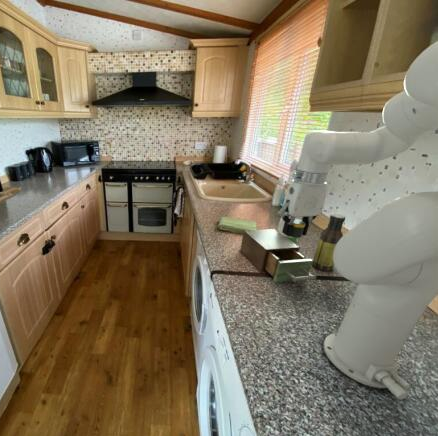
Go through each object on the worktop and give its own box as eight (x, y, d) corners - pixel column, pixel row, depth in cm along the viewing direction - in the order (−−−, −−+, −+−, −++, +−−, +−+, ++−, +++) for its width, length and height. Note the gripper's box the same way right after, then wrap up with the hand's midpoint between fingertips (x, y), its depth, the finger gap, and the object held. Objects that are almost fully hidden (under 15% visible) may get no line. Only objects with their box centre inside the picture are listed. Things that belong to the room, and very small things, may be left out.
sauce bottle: (336, 270, 86) (356, 219, 78) (322, 272, 85) (341, 220, 77) (320, 260, 92) (337, 211, 84) (307, 262, 90) (323, 213, 83)
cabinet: (293, 269, 86) (299, 247, 83) (260, 272, 85) (266, 249, 81) (268, 248, 100) (273, 228, 96) (240, 250, 98) (243, 230, 94)
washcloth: (257, 236, 110) (258, 230, 108) (217, 230, 115) (217, 224, 114) (255, 225, 121) (256, 219, 120) (219, 220, 126) (219, 214, 125)
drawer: (318, 289, 75) (325, 269, 72) (285, 292, 74) (291, 272, 71) (280, 257, 92) (285, 240, 89) (252, 259, 90) (256, 242, 87)
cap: (305, 237, 74) (309, 224, 73) (292, 238, 74) (295, 224, 72) (294, 230, 79) (298, 218, 77) (282, 231, 78) (285, 218, 76)
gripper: (292, 181, 64) (276, 241, 71) (347, 179, 67) (327, 237, 74) (274, 174, 71) (262, 230, 78) (325, 173, 73) (308, 227, 81)
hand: (293, 233), depth 76 cm, fingers closed on cap, 4 cm apart
